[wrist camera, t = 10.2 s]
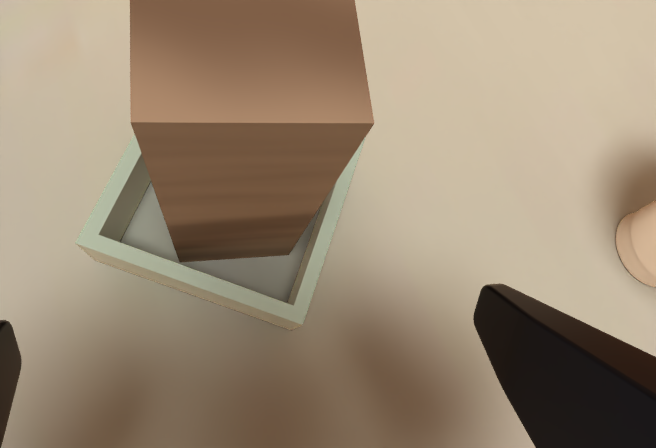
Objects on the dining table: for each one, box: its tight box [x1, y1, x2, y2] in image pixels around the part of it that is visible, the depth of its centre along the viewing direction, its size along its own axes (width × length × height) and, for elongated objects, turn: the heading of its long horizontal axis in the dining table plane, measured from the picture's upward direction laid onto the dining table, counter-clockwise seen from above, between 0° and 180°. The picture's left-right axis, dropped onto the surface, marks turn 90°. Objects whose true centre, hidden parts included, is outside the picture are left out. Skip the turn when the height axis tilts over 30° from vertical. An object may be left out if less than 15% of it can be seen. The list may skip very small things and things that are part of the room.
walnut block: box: [130, 0, 374, 262], centre depth 16 cm, size 5×5×13 cm
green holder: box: [76, 134, 365, 330], centre depth 21 cm, size 9×9×3 cm
